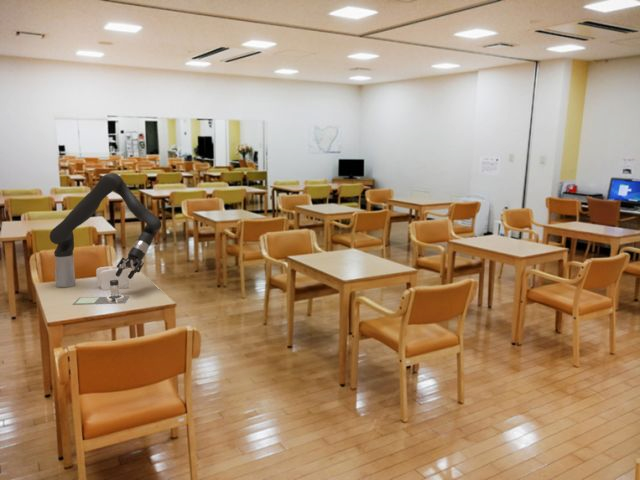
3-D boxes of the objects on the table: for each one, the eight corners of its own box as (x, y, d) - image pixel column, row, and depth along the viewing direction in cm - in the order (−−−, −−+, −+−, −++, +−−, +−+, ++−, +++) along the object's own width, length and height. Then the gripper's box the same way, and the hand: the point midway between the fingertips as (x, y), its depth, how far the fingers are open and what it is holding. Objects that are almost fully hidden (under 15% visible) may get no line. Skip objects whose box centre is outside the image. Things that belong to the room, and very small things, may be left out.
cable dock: (71, 307, 263) (71, 302, 262) (79, 299, 275) (79, 294, 275) (124, 305, 266) (124, 300, 266) (130, 297, 278) (130, 293, 278)
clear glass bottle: (110, 301, 269) (108, 282, 267) (112, 298, 273) (110, 279, 271) (118, 301, 270) (117, 281, 268) (120, 298, 274) (119, 279, 272)
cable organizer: (100, 292, 287) (98, 271, 285) (97, 287, 296) (95, 267, 293) (129, 288, 294) (128, 268, 292) (125, 284, 303) (124, 264, 301)
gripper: (124, 245, 282) (108, 271, 275) (144, 248, 276) (128, 275, 268) (133, 253, 288) (117, 279, 280) (152, 256, 282) (137, 282, 274)
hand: (123, 277), depth 274 cm, fingers open, 8 cm apart
